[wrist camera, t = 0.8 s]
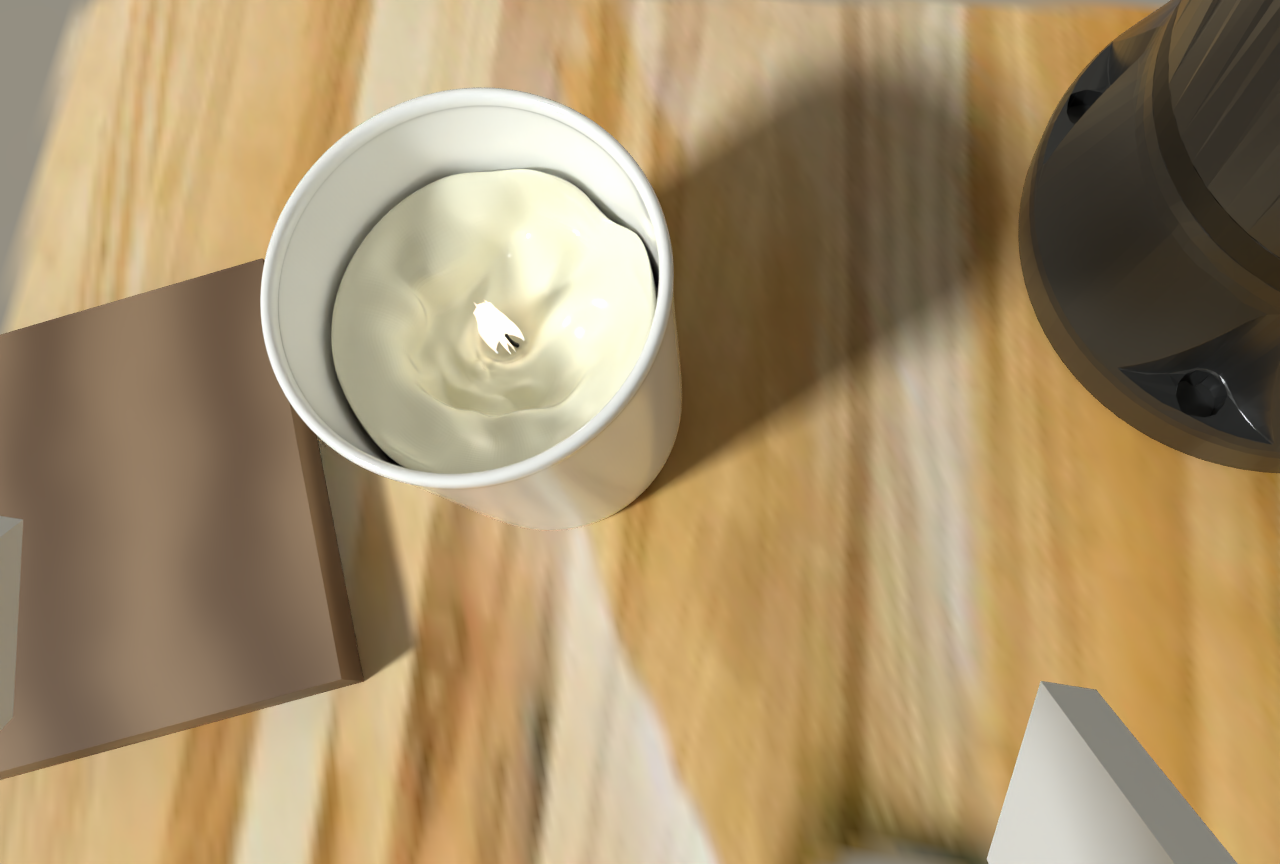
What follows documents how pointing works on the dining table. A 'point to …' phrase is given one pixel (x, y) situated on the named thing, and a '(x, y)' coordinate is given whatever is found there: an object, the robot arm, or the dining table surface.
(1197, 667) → the dining table surface
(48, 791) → the dining table surface
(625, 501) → the candle holder
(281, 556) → the walnut board
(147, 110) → the dining table surface
